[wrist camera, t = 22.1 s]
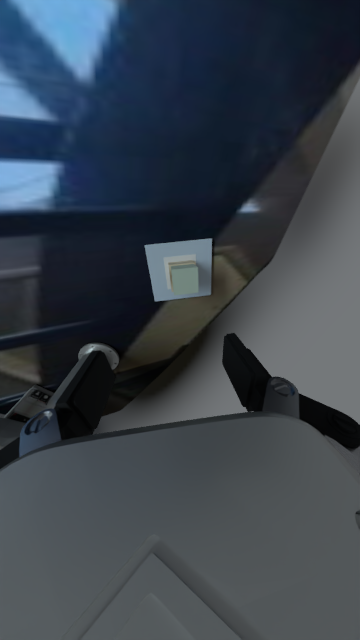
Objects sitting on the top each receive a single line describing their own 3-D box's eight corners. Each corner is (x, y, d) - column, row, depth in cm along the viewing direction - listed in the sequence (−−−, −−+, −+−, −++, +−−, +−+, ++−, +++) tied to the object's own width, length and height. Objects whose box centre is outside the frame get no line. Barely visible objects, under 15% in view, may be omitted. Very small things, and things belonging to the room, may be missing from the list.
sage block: (194, 286, 33) (198, 292, 29) (173, 288, 33) (174, 295, 29) (193, 263, 31) (197, 267, 26) (170, 266, 31) (171, 269, 26)
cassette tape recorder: (71, 399, 57) (13, 496, 35) (63, 406, 58) (1, 502, 37) (36, 383, 51) (-61, 487, 29) (27, 391, 53) (-72, 495, 31)
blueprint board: (209, 293, 41) (211, 295, 40) (155, 300, 40) (154, 301, 39) (210, 238, 34) (212, 238, 33) (145, 245, 34) (144, 245, 33)
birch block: (192, 284, 38) (196, 289, 33) (170, 286, 38) (171, 291, 33) (192, 260, 35) (195, 262, 31) (168, 262, 35) (168, 265, 30)
